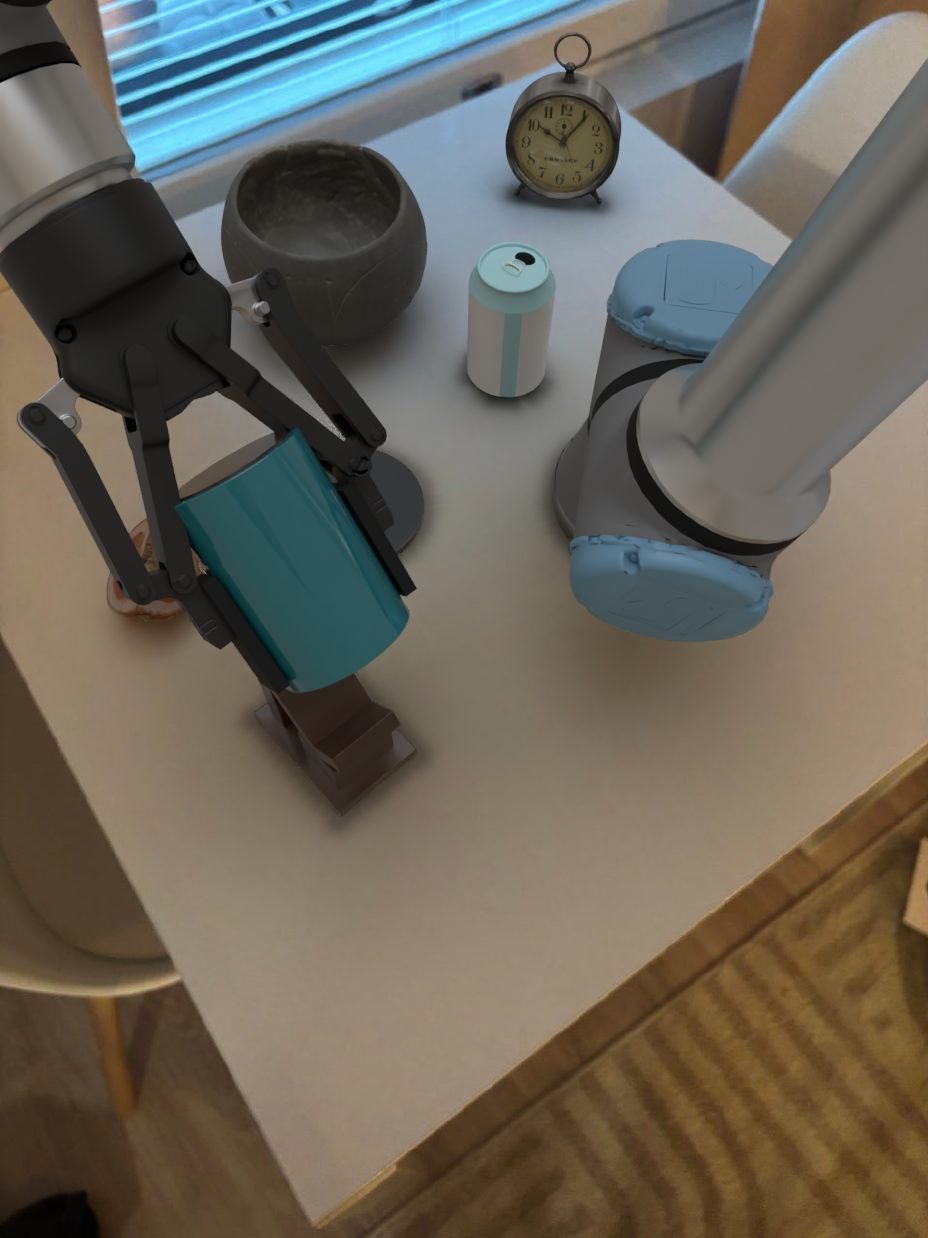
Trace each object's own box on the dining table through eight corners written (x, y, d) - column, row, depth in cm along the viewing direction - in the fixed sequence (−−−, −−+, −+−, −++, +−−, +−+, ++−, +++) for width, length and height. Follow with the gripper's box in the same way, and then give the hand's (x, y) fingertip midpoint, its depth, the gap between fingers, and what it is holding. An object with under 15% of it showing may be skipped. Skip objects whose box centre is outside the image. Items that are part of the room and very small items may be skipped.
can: (468, 342, 87) (470, 233, 77) (544, 345, 87) (557, 236, 77) (465, 401, 84) (467, 295, 73) (544, 403, 84) (558, 298, 73)
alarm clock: (501, 204, 96) (510, 42, 82) (508, 170, 99) (518, 8, 85) (608, 217, 96) (635, 56, 82) (612, 182, 98) (640, 21, 84)
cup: (184, 586, 54) (114, 438, 43) (290, 513, 57) (251, 355, 45) (326, 746, 50) (291, 629, 38) (434, 659, 52) (432, 526, 41)
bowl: (372, 222, 95) (361, 100, 84) (464, 334, 88) (466, 218, 76) (208, 285, 90) (174, 165, 79) (291, 409, 83) (266, 296, 72)
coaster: (409, 441, 81) (409, 436, 81) (437, 556, 76) (436, 551, 75) (270, 463, 80) (269, 459, 80) (288, 582, 74) (286, 578, 74)
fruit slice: (194, 641, 72) (177, 609, 67) (105, 640, 72) (83, 608, 67) (209, 549, 76) (194, 513, 71) (125, 548, 76) (105, 512, 71)
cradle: (254, 717, 69) (224, 651, 60) (330, 660, 71) (312, 587, 62) (340, 816, 65) (322, 763, 56) (417, 753, 68) (411, 691, 58)
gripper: (238, 141, 47) (451, 524, 56) (-155, 340, 40) (158, 742, 49) (287, 87, 41) (520, 530, 49) (-171, 313, 34) (193, 782, 42)
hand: (339, 635), depth 49 cm, fingers closed on cup, 8 cm apart
